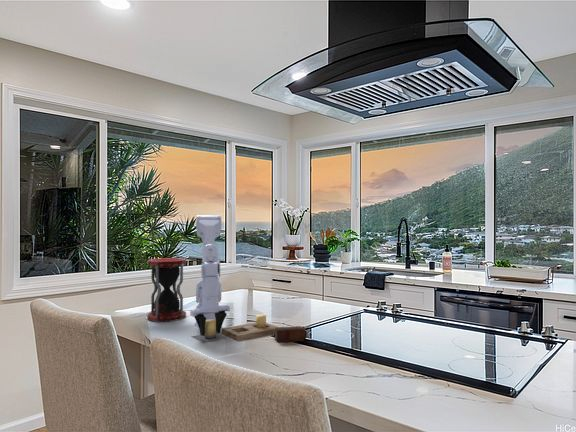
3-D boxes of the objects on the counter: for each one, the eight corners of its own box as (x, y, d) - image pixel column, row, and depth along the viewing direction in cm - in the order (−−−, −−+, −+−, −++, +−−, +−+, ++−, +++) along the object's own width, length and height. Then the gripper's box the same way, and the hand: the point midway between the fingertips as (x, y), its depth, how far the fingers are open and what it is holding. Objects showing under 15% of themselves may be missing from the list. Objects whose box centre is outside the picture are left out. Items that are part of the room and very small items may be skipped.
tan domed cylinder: (253, 331, 157) (253, 315, 157) (262, 329, 159) (262, 314, 160) (259, 333, 154) (259, 317, 154) (268, 331, 156) (268, 315, 156)
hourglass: (139, 320, 174) (139, 260, 174) (161, 312, 189) (161, 257, 189) (172, 323, 169) (172, 261, 169) (193, 314, 184) (193, 258, 184)
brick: (277, 344, 142) (277, 330, 142) (274, 340, 145) (274, 327, 145) (306, 341, 145) (306, 328, 145) (303, 338, 148) (303, 325, 148)
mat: (190, 337, 149) (190, 336, 149) (216, 332, 155) (216, 331, 155) (202, 343, 141) (202, 343, 141) (228, 338, 147) (228, 338, 147)
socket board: (221, 333, 153) (221, 328, 153) (262, 326, 164) (262, 321, 164) (237, 341, 144) (237, 335, 144) (279, 333, 155) (279, 327, 155)
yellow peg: (202, 337, 148) (202, 320, 148) (212, 335, 150) (213, 318, 150) (207, 339, 145) (207, 322, 145) (218, 337, 147) (218, 320, 147)
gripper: (196, 299, 140) (196, 339, 140) (234, 295, 149) (233, 333, 149) (187, 296, 146) (187, 335, 146) (224, 292, 154) (224, 328, 154)
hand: (210, 333), depth 147 cm, fingers open, 5 cm apart
